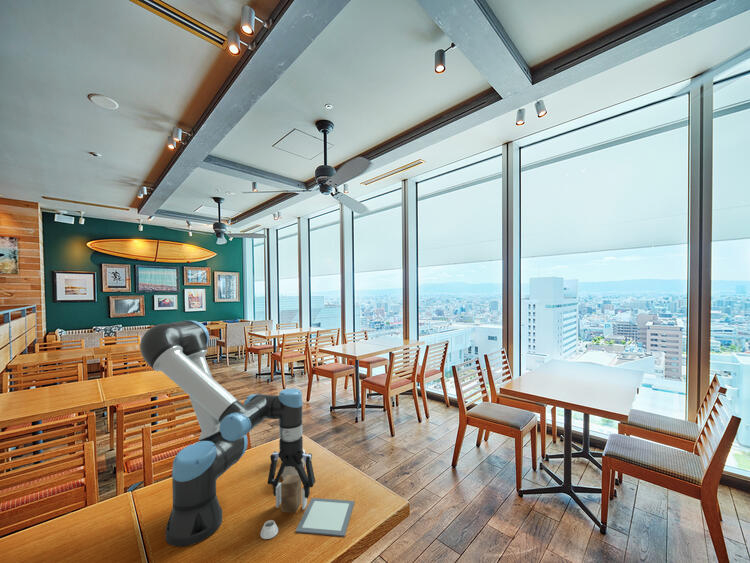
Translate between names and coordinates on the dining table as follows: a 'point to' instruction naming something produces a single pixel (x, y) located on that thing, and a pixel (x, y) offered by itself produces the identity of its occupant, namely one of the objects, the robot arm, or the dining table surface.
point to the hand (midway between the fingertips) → (291, 505)
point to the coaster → (326, 517)
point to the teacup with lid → (292, 469)
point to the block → (290, 493)
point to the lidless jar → (269, 530)
